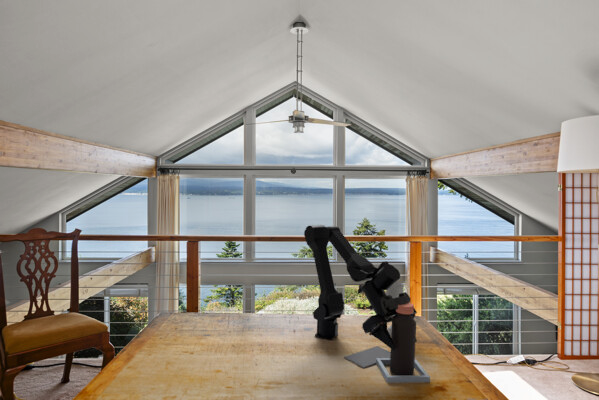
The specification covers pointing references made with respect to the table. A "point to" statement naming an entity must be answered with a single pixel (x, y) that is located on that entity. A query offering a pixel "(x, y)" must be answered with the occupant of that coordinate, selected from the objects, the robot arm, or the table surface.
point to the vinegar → (403, 341)
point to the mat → (368, 356)
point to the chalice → (394, 295)
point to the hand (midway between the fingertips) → (405, 345)
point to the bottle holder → (402, 378)
